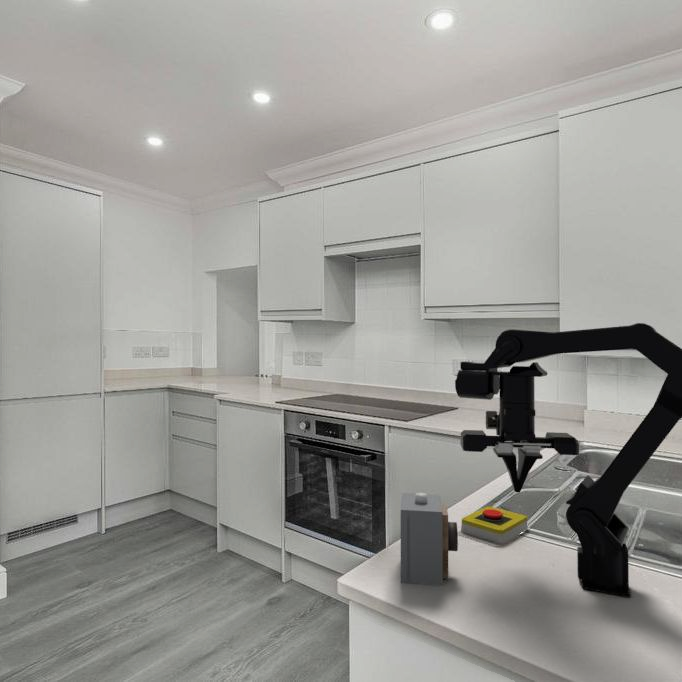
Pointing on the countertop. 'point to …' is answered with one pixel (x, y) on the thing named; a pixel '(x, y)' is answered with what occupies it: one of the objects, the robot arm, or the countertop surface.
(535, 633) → the countertop surface
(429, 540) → the housing
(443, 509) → the plunger
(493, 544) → the emergency button
